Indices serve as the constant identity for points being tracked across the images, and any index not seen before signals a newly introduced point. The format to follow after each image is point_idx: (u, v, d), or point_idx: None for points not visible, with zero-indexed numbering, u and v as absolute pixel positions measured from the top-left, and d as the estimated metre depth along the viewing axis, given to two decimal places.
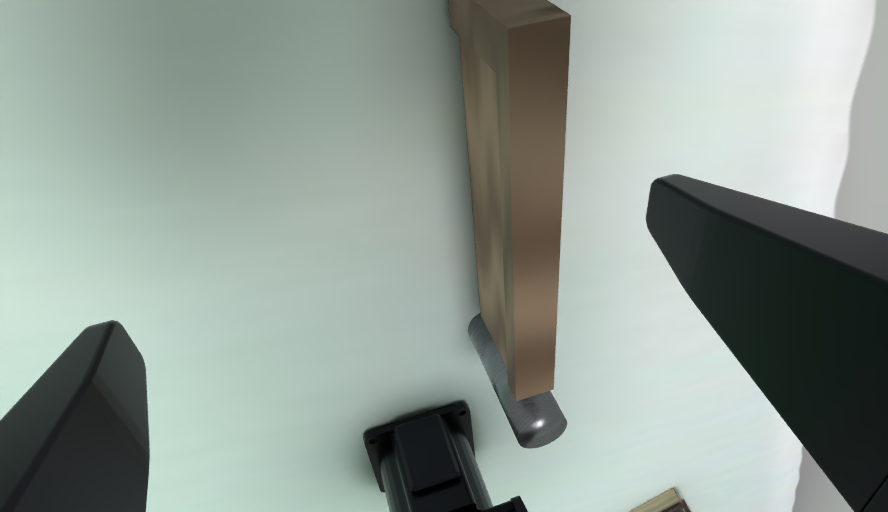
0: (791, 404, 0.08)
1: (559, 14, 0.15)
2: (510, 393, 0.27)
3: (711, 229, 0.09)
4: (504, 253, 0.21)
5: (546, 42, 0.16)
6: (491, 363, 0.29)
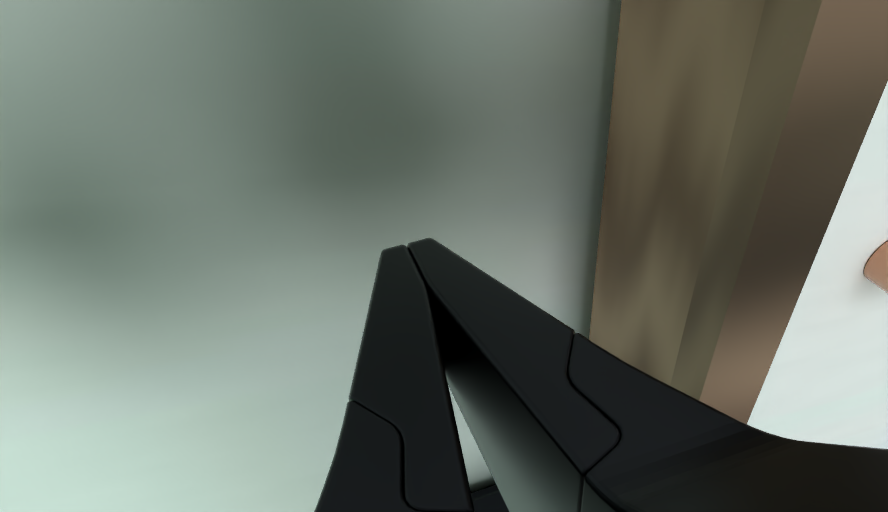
0: (510, 501, 0.08)
1: None
2: None
3: (434, 307, 0.08)
4: (704, 271, 0.12)
5: None
6: None
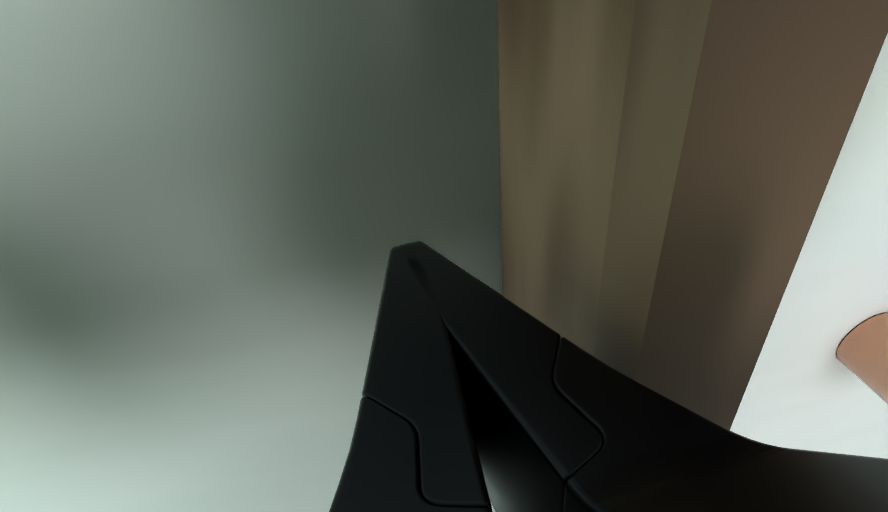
0: (497, 506, 0.08)
1: None
2: None
3: None
4: None
5: None
6: None
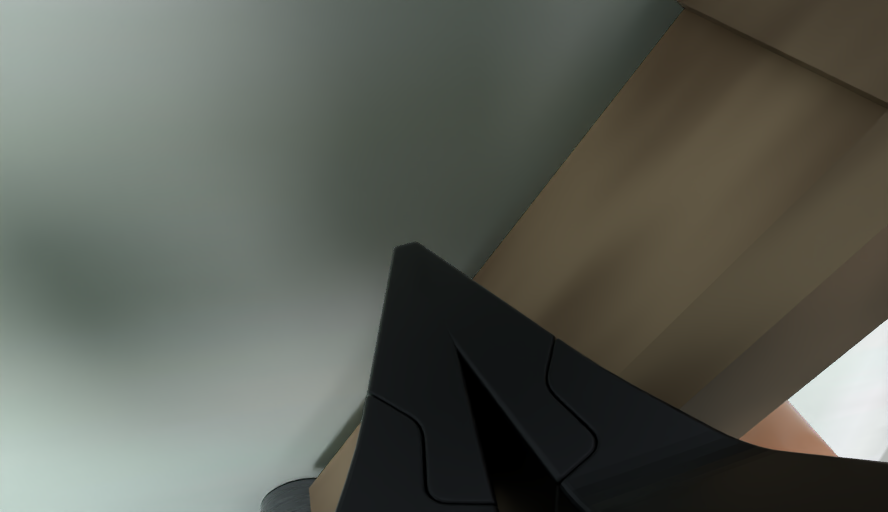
0: None
1: None
2: None
3: None
4: None
5: None
6: None
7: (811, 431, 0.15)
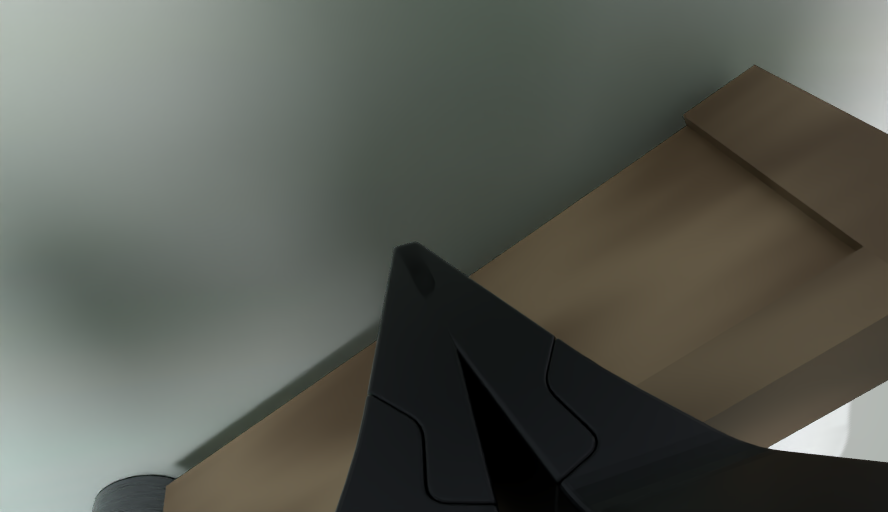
0: None
1: None
2: None
3: None
4: None
5: None
6: None
7: None
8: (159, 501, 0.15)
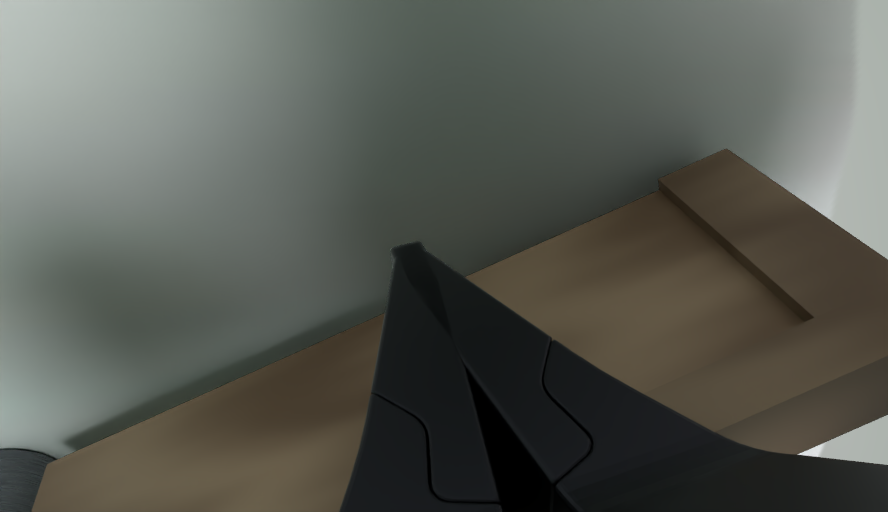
0: None
1: None
2: None
3: None
4: None
5: None
6: None
7: None
8: (18, 477, 0.13)
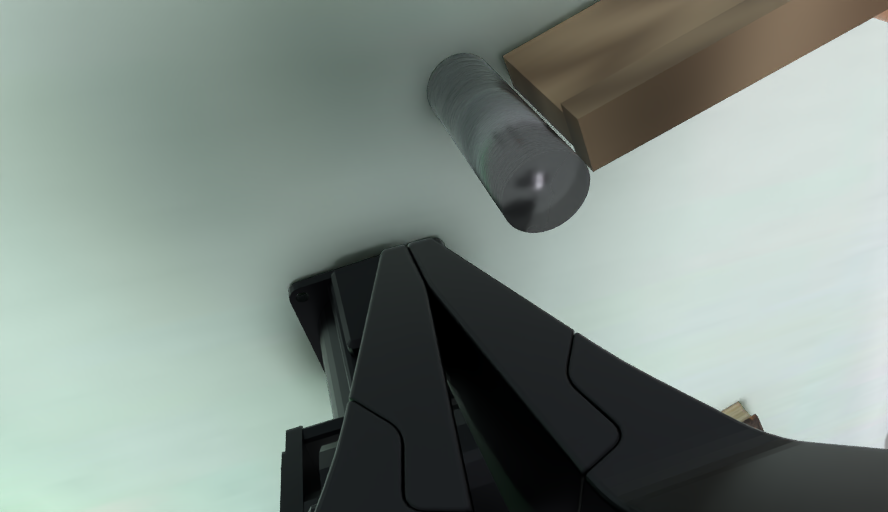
0: (509, 501, 0.08)
1: None
2: (487, 139, 0.15)
3: (433, 307, 0.08)
4: None
5: None
6: (458, 114, 0.17)
7: None
8: (486, 64, 0.19)
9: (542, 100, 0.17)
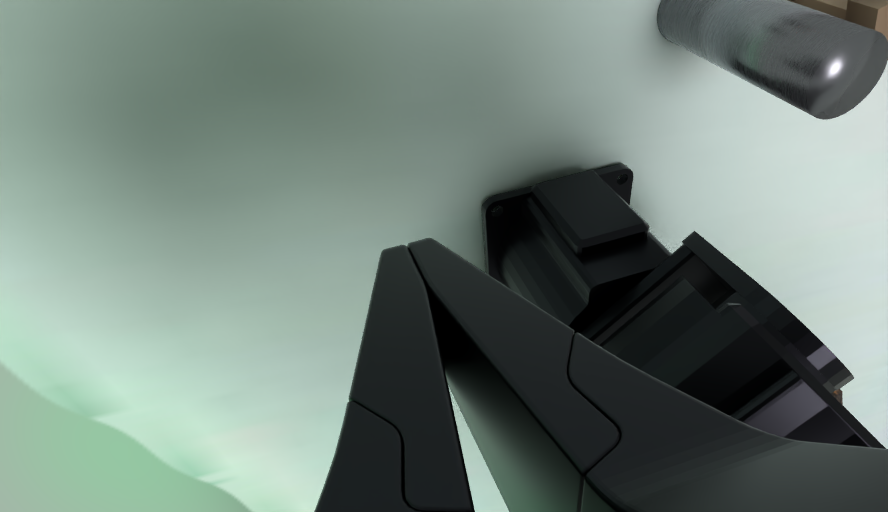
0: (509, 501, 0.08)
1: None
2: (780, 28, 0.16)
3: (434, 307, 0.08)
4: None
5: None
6: (723, 15, 0.18)
7: None
8: None
9: None
